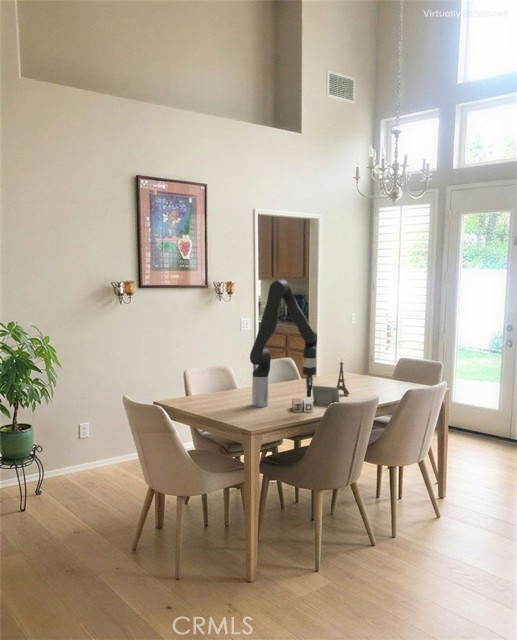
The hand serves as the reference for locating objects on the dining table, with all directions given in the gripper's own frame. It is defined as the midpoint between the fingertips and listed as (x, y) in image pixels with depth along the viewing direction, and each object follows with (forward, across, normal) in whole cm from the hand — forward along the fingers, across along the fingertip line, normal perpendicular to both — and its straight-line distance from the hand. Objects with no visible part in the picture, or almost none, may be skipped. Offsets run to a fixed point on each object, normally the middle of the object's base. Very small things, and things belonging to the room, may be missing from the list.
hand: (308, 396), depth 307 cm
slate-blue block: (+6, 0, 0) cm, 6 cm away
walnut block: (+6, 0, -6) cm, 9 cm away
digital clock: (+9, -22, +12) cm, 27 cm away
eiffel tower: (+9, -50, +25) cm, 57 cm away
